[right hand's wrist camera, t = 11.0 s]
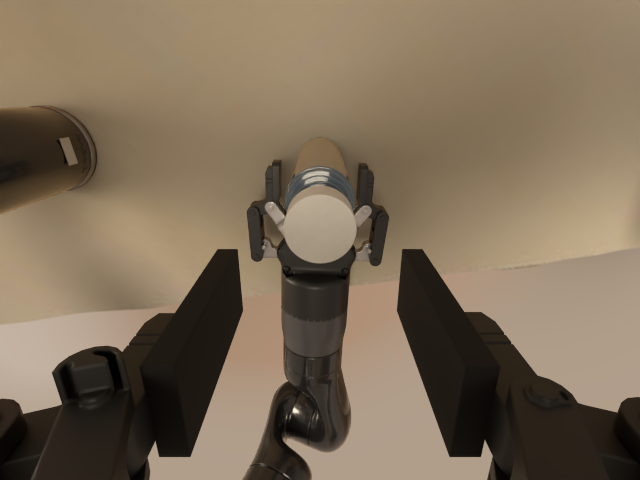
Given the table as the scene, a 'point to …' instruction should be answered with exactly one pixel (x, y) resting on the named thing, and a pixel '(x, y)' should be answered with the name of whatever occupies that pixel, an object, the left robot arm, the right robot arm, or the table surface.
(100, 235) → the table surface
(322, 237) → the cap
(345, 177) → the bottle
